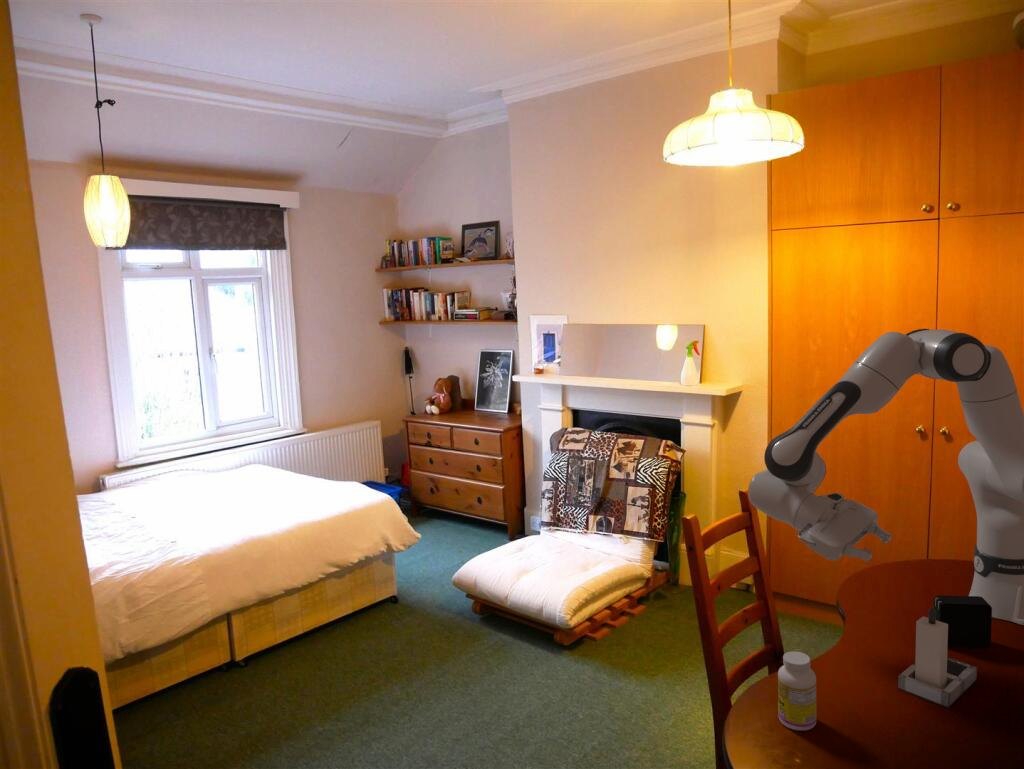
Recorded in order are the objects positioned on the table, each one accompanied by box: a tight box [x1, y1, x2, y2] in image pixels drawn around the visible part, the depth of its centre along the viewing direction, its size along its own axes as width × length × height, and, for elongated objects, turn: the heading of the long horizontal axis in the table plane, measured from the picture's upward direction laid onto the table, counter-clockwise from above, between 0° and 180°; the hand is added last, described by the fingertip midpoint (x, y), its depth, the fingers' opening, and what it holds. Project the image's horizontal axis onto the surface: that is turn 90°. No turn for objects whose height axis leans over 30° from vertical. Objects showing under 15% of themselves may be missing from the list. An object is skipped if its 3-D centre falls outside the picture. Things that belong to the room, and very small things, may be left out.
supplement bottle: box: [777, 651, 817, 732], centre depth 136 cm, size 7×7×13 cm
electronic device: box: [932, 594, 993, 650], centre depth 159 cm, size 4×10×10 cm, turn 79°
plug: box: [914, 607, 948, 690], centre depth 142 cm, size 4×3×17 cm, turn 38°
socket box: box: [897, 656, 978, 709], centre depth 145 cm, size 9×14×3 cm, turn 128°
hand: (880, 548), depth 152 cm, fingers open, 8 cm apart
